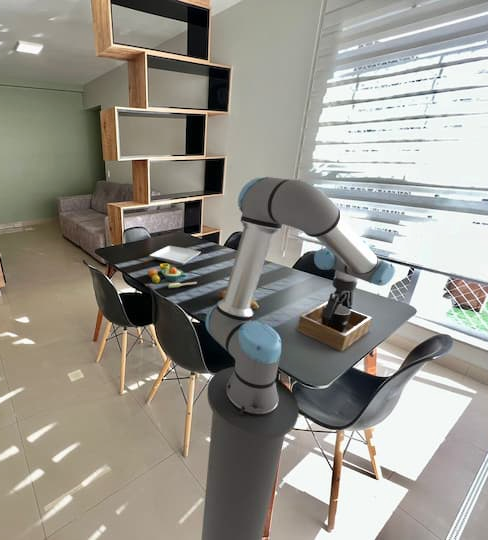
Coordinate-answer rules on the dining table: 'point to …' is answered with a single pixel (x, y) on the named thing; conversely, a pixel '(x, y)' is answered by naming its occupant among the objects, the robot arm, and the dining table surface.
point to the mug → (339, 318)
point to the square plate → (175, 255)
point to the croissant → (253, 304)
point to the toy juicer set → (169, 275)
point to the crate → (315, 329)
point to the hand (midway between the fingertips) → (333, 327)
